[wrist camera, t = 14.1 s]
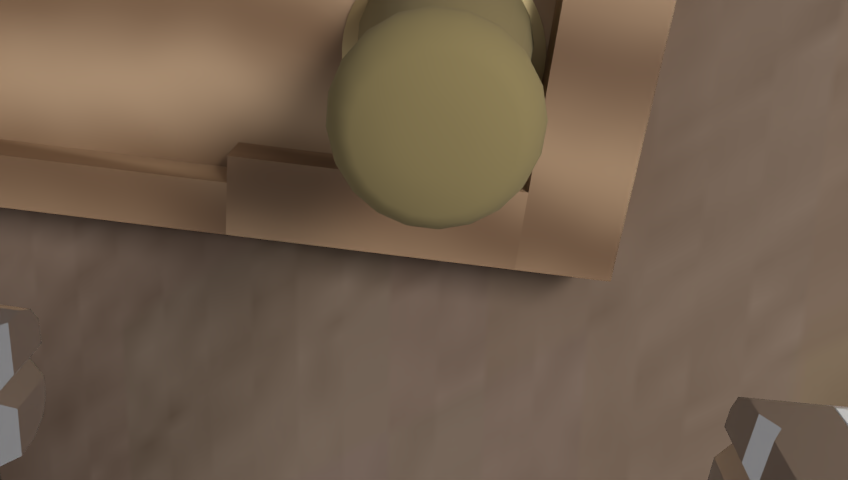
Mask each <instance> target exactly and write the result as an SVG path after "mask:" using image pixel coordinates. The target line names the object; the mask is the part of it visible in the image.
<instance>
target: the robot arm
mask: <svg viewBox="0 0 848 480" xmlns="http://www.w3.org/2000/svg"><path fill="white" fill-rule="evenodd" d="M41 343H42V342H41V334H40V326H39V319H38V317H37V316H36V315H35V314H34V313H33V311H32V310H31V309H27V308H20V307H13V306H6V305H0V466H2V465H4V464H6V463H8V462H10V461H12V460H14V459H16V458H18V457H20V456H22V455H23V454H24V452H25V451H26V449H27V448H28V447H29V445H30V444H31V442H32V441H33V440H34V438H35V436H36V433H37V430H38V428H39V425H40V422H41V420H42V417H43V414H44V405H45V397H46V391H45V377H44V375H43V374H42V373H41V371H40V370H39V369H38V368H37V366H36V365H35V364H34V363H33V361H32V360H31V359H30V357H31V356H32V355H33V353H34V352H35V351H36V350H37V348H38V347H39V346H40V345H41ZM724 427H725V429H726V431H727V433H728V435H729V437H730V439H731V441H732V444H731V445H730V446H728V447H727V448H726V449H724V450H723V451H722V452H720V453H719V454H718V455H717V456H715V457H714V460H713V463H712V467H711V470H710V474H709V477H708V480H848V407H842V406H830V405H818V404H807V403H797V402H787V401H776V400H766V399H756V398H744V397H738V398H737V400H736V401H735V403H734V404H733V406H732V407H731V409H730V411H729V414H728V417H727V420H726V423H725V426H724ZM0 480H1V475H0Z"/></svg>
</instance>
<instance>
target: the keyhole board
mask: <svg viewBox="0 0 848 480" xmlns="http://www.w3.org/2000/svg"><path fill="white" fill-rule="evenodd" d="M522 1H523V3H524V5H525V7H526V9H527V11H528V13H529V15H530V20H531V27H532V34H533V41H534V48H533V54H532V60H531V63H532V65H533V67H534V69H535V71H536V73H537V75H538V77H539V79H540V81H541V83H542V85H543V89H544V97H545V104H546V111H547V118H548V122H547V128H546V133H545V138H544V144H543V149H542V154H541V156H540V158H539V159H538V161H537V163H536V165H535V167H534V168H533V170H532V172H531V174H530V176H529V178H528V179H527V181H526V183H525V185H524V186H523V188H522V189H521V190H520V191H519V192H518V193H517V194H516V195H515V196H513V197H512V198H511V199H510V200H509V201H508V202H507V203H506V204H505V205H504V206H503V207H502V208H501V209H500V210H498V211H496V212H494V213H492V214H490V215H488V216H486V217H484V218H482V219H480V220H478V221H476V222H474V223H472V224H469V225H463V226H457V227H450V228H444V229H431V228H423V227H415V226H407V225H405V224H402V223H400V222H398V221H395V220H393V219H391V218H389V217H386V216H384V215H382V214H380V213H377V212H376V211H375V210H374V209H373V208H371V207H370V206H369V205H368V204H367V203H366V202H364V201H363V200H362V199H361V198H360V197H359V196H357V195H356V194H355V193H354V192H353V191H352V189H351V188H350V186H349V185H348V183H347V181H346V180H345V178H344V177H343V175H342V173H341V172H340V170H339V169H338V167H337V165H336V164H335V161H334V157H333V153H332V149H331V145H330V141H329V137H328V133H327V130H326V113H327V99H328V91H329V89H330V86H331V84H332V81H333V79H334V77H335V74H336V72H337V69H338V67H339V65H340V62H341V60H342V59H343V57H344V56H345V55H346V54H347V53H348V52H349V50H350V49H351V48H352V47H353V46H354V45H355V44H356V43H357V41H358V33H359V22H360V19H361V17H362V15H363V12H364V10H365V8H366V5H367V3H368V0H0V207H2V208H11V209H19V210H27V211H35V212H44V213H52V214H60V215H68V216H76V217H85V218H93V219H101V220H109V221H117V222H126V223H134V224H142V225H150V226H158V227H167V228H175V229H183V230H191V231H199V232H208V233H216V234H224V235H232V236H240V237H249V238H257V239H265V240H273V241H281V242H290V243H298V244H306V245H314V246H322V247H331V248H339V249H347V250H355V251H363V252H372V253H380V254H388V255H396V256H404V257H413V258H421V259H429V260H437V261H445V262H454V263H462V264H470V265H478V266H487V267H495V268H503V269H511V270H519V271H528V272H536V273H544V274H552V275H560V276H569V277H577V278H585V279H593V280H601V281H611V277H612V273H613V269H614V264H615V260H616V256H617V252H618V247H619V243H620V239H621V235H622V230H623V226H624V222H625V217H626V213H627V209H628V205H629V200H630V196H631V192H632V188H633V183H634V179H635V175H636V171H637V166H638V162H639V158H640V154H641V149H642V145H643V141H644V137H645V132H646V128H647V124H648V120H649V115H650V111H651V107H652V102H653V98H654V94H655V90H656V85H657V81H658V77H659V73H660V68H661V64H662V60H663V56H664V51H665V47H666V43H667V39H668V34H669V30H670V26H671V22H672V17H673V13H674V9H675V4H676V0H522Z"/></svg>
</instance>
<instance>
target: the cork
mask: <svg viewBox="0 0 848 480" xmlns="http://www.w3.org/2000/svg"><path fill="white" fill-rule="evenodd" d="M533 48H534V41H533V34H532V27H531V20H530V15H529V13H528V11H527V9H526V7H525V5H524V3H523V1H522V0H368V3H367V5H366V8H365V10H364V12H363V15H362V17H361V19H360V22H359V33H358V41H357V43H356V44H355V45H354V46H353V47H352V48H351V49H350V50H349V52H348V53H347V54H346V55H345V56H344V57H343V59H342V60H341V62H340V65H339V67H338V69H337V72H336V74H335V77H334V79H333V81H332V84H331V86H330V89H329V91H328V99H327V113H326V130H327V133H328V137H329V141H330V145H331V149H332V153H333V157H334V161H335V164H336V165H337V167H338V169H339V170H340V172H341V173H342V175H343V177H344V178H345V180H346V181H347V183H348V185H349V186H350V188H351V189H352V191H353V192H354V193H355V194H356V195H357V196H359V197H360V198H361V199H362V200H363V201H364V202H366V203H367V204H368V205H369V206H370V207H371V208H373V209H374V210H375V211H376V212H377V213H380V214H382V215H384V216H386V217H389V218H391V219H393V220H395V221H398V222H400V223H402V224H405V225H407V226H415V227H423V228H431V229H444V228H450V227H457V226H463V225H469V224H472V223H474V222H476V221H478V220H480V219H482V218H484V217H486V216H488V215H490V214H492V213H494V212H496V211H498V210H500V209H501V208H502V207H503V206H504V205H505V204H506V203H507V202H508V201H509V200H510V199H511V198H512V197H513V196H515V195H516V194H517V193H518V192H519V191H520V190H521V189H522V188H523V186H524V185H525V183H526V181H527V179H528V178H529V176H530V174H531V172H532V170H533V168H534V167H535V165H536V163H537V161H538V159H539V158H540V156H541V154H542V149H543V144H544V138H545V133H546V128H547V122H548V118H547V111H546V104H545V97H544V89H543V85H542V83H541V81H540V79H539V77H538V75H537V73H536V71H535V69H534V67H533V65H532V63H531V60H532V54H533Z"/></svg>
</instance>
